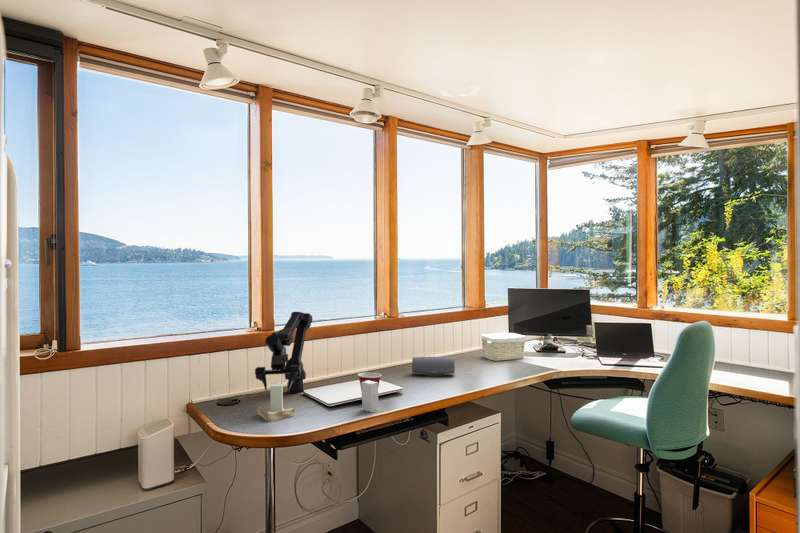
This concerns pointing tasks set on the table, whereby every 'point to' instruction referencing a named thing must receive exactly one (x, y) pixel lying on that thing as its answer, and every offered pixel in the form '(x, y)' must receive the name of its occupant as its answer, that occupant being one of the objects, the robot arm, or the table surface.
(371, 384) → the skincare box
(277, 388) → the sage block
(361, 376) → the plastic cup
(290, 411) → the beige flat l-shaped piece
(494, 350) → the storage basket
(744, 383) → the table surface
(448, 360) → the bluetooth speaker
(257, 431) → the table surface
